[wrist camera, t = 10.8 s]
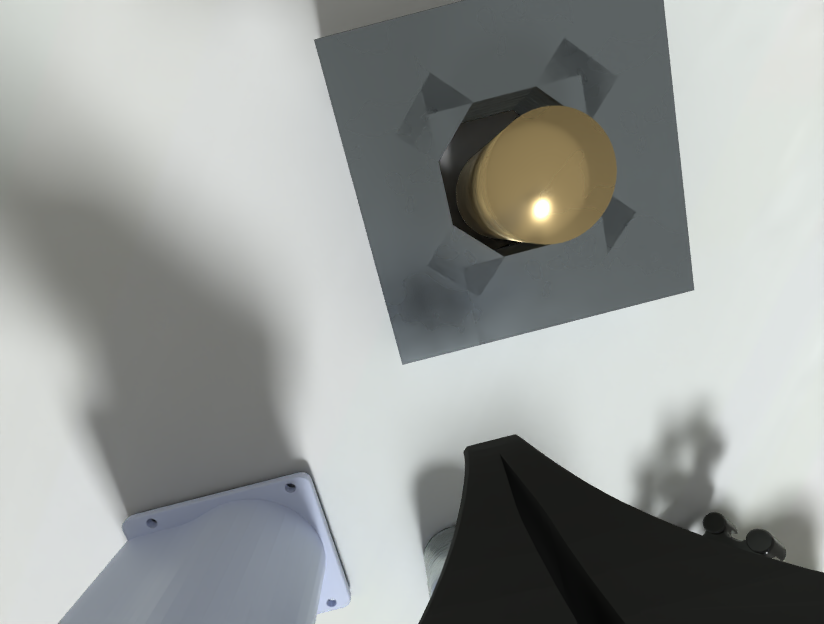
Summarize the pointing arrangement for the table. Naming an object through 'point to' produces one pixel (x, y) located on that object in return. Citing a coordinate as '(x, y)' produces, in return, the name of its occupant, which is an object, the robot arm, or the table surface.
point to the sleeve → (437, 556)
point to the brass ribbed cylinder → (539, 178)
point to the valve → (754, 542)
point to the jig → (522, 92)
